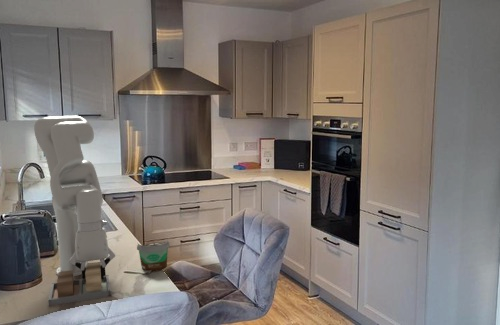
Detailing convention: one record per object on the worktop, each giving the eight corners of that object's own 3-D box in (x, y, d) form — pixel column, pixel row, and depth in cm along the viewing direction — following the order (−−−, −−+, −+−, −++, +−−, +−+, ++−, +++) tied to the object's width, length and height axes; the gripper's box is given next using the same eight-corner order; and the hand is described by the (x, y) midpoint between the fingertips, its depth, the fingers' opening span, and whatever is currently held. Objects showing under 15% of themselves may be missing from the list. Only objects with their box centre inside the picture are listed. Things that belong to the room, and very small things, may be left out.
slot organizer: (52, 288, 153) (51, 283, 153) (108, 280, 159) (108, 275, 159) (48, 306, 140) (48, 300, 139) (110, 296, 146) (110, 290, 145)
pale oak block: (88, 280, 154) (87, 263, 154) (102, 278, 156) (100, 261, 155) (86, 291, 145) (85, 273, 144) (101, 289, 146) (100, 271, 146)
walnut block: (59, 289, 152) (58, 272, 151) (74, 287, 153) (72, 270, 153) (58, 301, 143) (56, 282, 142) (73, 298, 144) (72, 280, 143)
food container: (140, 275, 164) (139, 248, 163) (137, 269, 170) (136, 243, 168) (174, 269, 169) (172, 243, 167) (170, 264, 174) (169, 239, 173)
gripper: (116, 220, 154) (119, 271, 157) (63, 226, 149) (67, 279, 151) (117, 225, 147) (121, 279, 150) (61, 231, 142) (66, 287, 144)
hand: (94, 278), depth 150 cm, fingers closed on pale oak block, 4 cm apart
